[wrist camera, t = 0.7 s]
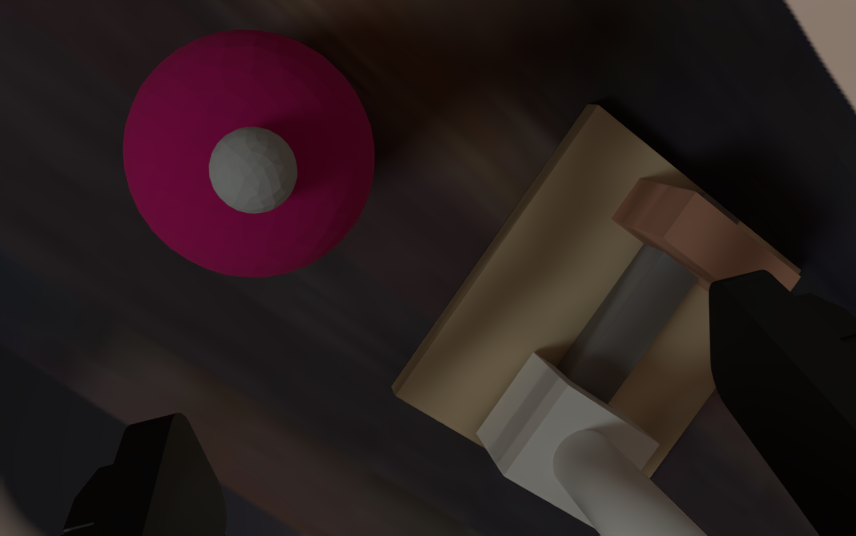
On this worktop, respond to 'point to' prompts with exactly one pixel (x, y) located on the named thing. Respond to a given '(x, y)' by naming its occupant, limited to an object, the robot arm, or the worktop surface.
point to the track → (593, 290)
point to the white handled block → (579, 455)
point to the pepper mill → (248, 153)
